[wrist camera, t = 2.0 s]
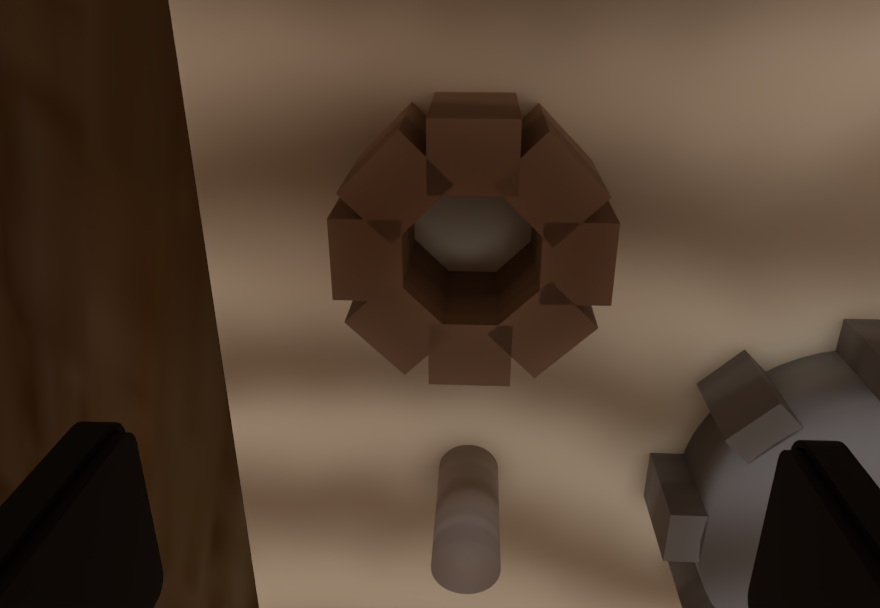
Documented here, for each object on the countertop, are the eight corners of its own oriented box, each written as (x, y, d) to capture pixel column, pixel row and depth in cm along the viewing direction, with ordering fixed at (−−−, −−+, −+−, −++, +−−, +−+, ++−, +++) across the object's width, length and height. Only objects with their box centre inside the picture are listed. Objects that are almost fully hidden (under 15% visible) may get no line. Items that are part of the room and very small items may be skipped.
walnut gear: (345, 91, 20) (319, 117, 17) (607, 93, 19) (631, 119, 16) (358, 322, 23) (338, 381, 20) (585, 327, 22) (602, 389, 19)
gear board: (181, -11, 20) (80, 1, 15) (1357, -12, 18) (1679, 2, 13) (271, 623, 30) (229, 755, 25) (1028, 656, 29) (1142, 802, 24)
